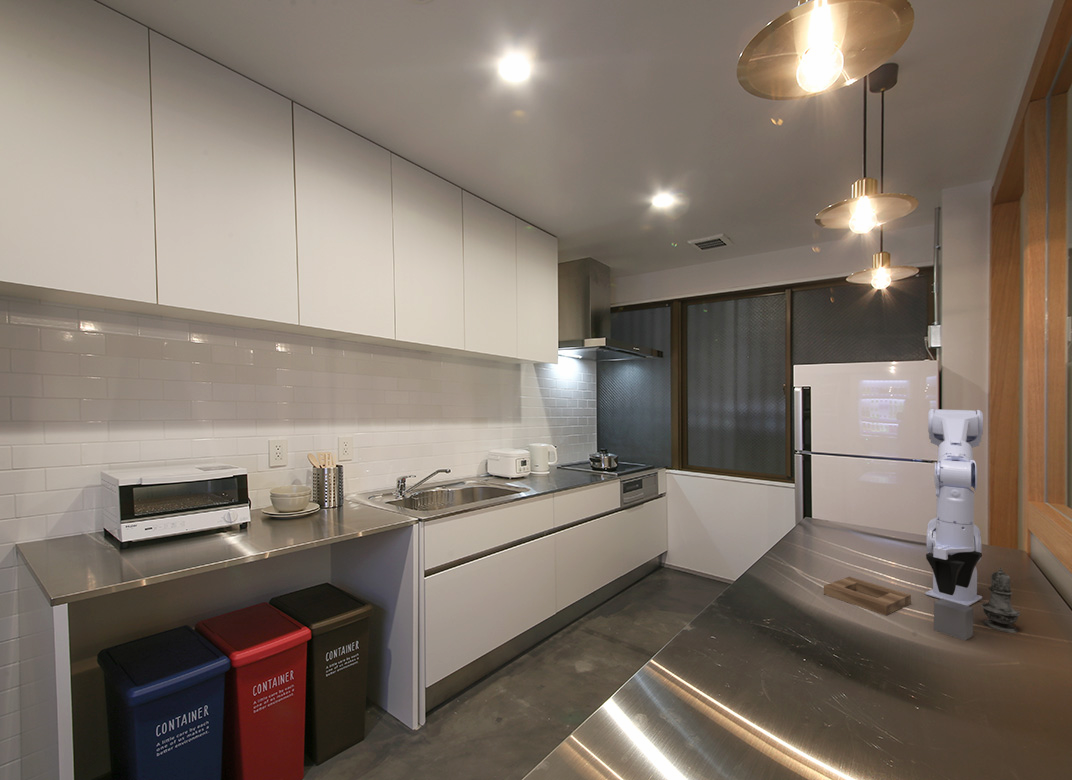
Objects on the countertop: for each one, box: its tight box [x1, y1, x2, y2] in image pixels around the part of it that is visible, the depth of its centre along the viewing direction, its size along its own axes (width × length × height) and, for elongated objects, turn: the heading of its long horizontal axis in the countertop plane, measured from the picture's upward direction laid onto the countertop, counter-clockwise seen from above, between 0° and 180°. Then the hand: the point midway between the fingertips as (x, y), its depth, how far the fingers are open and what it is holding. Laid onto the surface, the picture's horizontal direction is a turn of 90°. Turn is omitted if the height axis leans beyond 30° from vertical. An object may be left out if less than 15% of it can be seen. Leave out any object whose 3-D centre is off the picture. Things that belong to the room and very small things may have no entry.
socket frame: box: [823, 576, 912, 616], centre depth 115 cm, size 12×13×2 cm
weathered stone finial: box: [980, 567, 1021, 634], centre depth 102 cm, size 6×6×12 cm
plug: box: [933, 598, 974, 641], centre depth 99 cm, size 4×5×6 cm
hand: (953, 589), depth 99 cm, fingers open, 7 cm apart
